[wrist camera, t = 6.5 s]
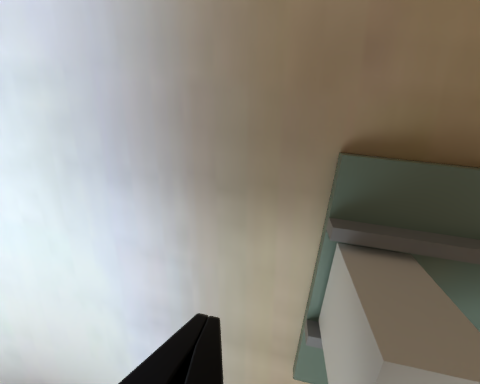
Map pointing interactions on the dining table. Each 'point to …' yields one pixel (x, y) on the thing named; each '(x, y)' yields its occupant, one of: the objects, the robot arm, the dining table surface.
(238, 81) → the dining table surface
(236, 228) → the dining table surface
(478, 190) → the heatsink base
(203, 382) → the robot arm
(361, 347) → the block
